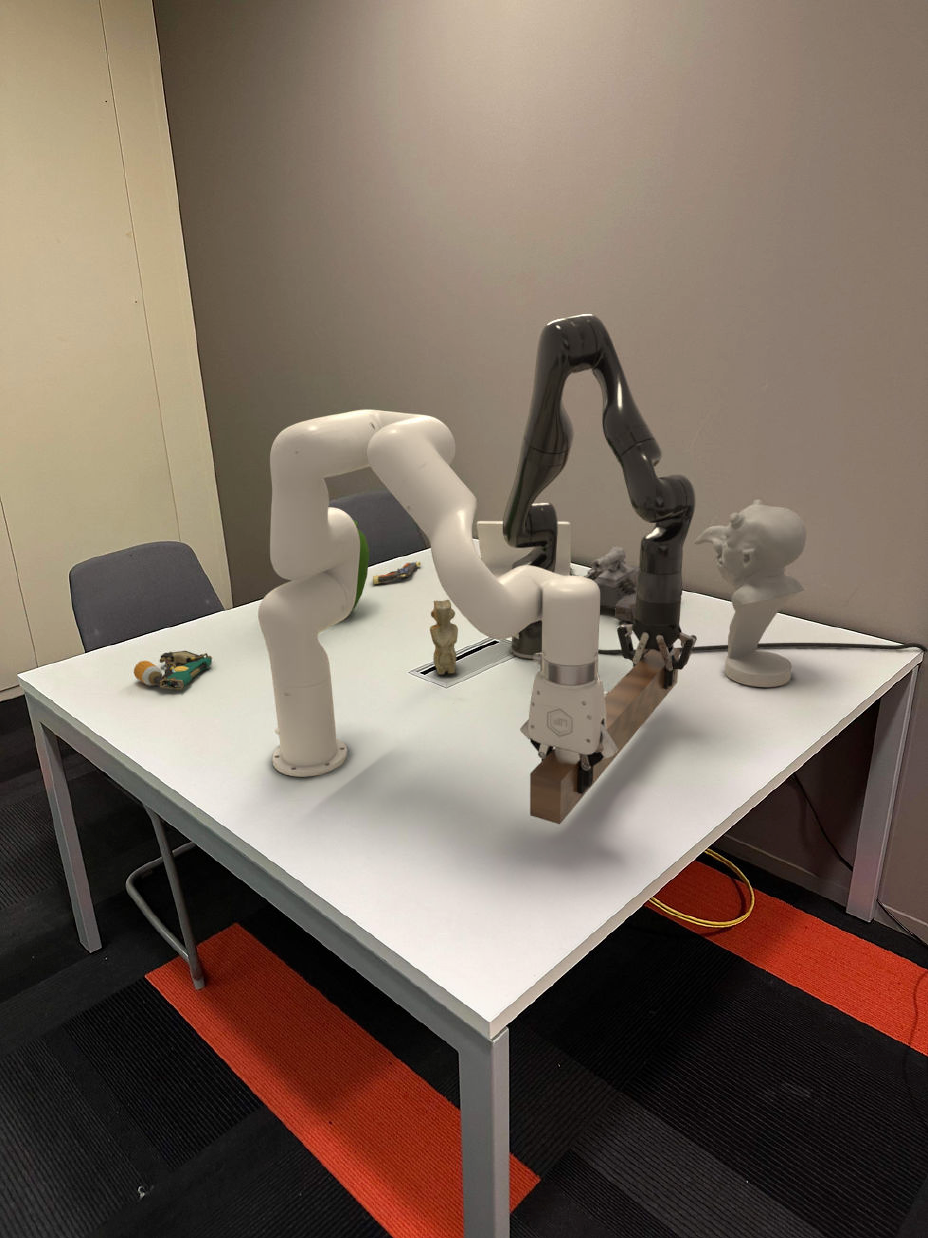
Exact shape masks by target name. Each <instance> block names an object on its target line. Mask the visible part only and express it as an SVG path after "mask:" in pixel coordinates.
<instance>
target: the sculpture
mask: <svg viewBox="0 0 928 1238" xmlns="http://www.w3.org/2000/svg"><path fill="white" fill-rule="evenodd" d="M455 615H456V611H455V609H453V608H452V602H451V600H450V599H445V600H433V610H431V612H430V617H431V618H432V619H433V620H434V621H435V622H436V623H435V624H433V625H431V626H429V633H430V636H431V640H432V641H431V642H432V643H433V645H434V648H435V649H434V652H433V656H432V657H433V659H432V660H433V665H434V667H435V668H436V671H437V674H438V675H445V674H446V672H447V673H448V674H455V673H456V666H457V665H456V663H457V652H456V649H455V644H456V643H457V642H458V637H459V635H458V634H459V627H458V626H457V624H455V623H453V622H451V621H452V620H453V619H454V618H455Z"/></svg>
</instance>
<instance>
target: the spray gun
mask: <svg viewBox="0 0 928 1238" xmlns="http://www.w3.org/2000/svg"><path fill="white" fill-rule="evenodd" d="M212 660H213V657H212V656H211V655H208V653H207V652H205V653H201V654H197V653H194V652H192V651H191V652H190V651H188V650H180V651H169V652H164V653H162V654H161V655H160V658H159V660H158V662H159V663H161V664H163V663H165V664H166V668H165V670H163V672H164V674H163V673H162V669H160V668H159V666H157V665H156V664H154V663H152V662H151V661H149V660H141V661H139V662H138V663H136V665H135V666H134V668H133V675H134V677H135V678H136V679H137V680H139V681H140V682H142V683H143V684H145V685H147V686H155V685H157V686H158V687H160V688H161V689H171V690H172V689H173V690H182V689H184V687H185V686H186V685H188V684H189V683H190V682H191V681H192V679H193V678H195V677H196V676H197V675H198V674H200V673H201V672H202V671H203V670H206V669H208V668H209V667H210V666H211V665H212V662H213V661H212ZM178 663H179V664H181V665H179V666H176V665H177V664H178Z"/></svg>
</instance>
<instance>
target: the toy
mask: <svg viewBox="0 0 928 1238" xmlns="http://www.w3.org/2000/svg"><path fill="white" fill-rule="evenodd" d="M626 557H627V556H626V551H625V549H624V548H622V547H621V546H614V547H612V548H611V549H610V550H609V552H608V553H607V554H605V555H604V556H601V557H599V558H598V559H597V557H596V558H594V559H593V560H592V561H590V562H589V563H590V564H591V565H592V567H591V568H590V569H589V570H587V573H586V575H584V576H583V577H585V578H588V579H591V580H593V581H594V582H595V583H596V584H597V585H598V587H599V589H600V607H602V608H603V607H604V608H609V609H613V610H614V618H615V619H617V620H618V621H621V622H624V623H630V624H633V623H634V622H635V608H636V587H637V577H638V572H639V566H635V565H629V564H628V563H627V562H626V561H625V559H626Z"/></svg>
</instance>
